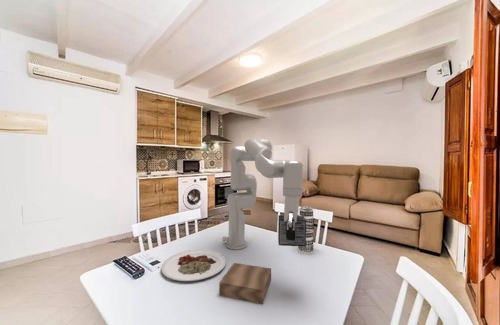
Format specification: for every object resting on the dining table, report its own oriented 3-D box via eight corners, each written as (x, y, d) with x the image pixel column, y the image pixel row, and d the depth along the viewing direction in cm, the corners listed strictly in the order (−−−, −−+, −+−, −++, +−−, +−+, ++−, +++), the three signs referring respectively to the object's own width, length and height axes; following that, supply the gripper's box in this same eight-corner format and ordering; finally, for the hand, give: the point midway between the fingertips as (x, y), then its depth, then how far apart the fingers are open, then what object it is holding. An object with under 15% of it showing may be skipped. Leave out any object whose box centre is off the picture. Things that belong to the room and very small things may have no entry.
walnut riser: (219, 295, 82) (219, 282, 82) (233, 273, 97) (234, 262, 97) (262, 303, 77) (263, 290, 77) (271, 279, 93) (271, 268, 93)
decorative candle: (306, 255, 116) (307, 209, 116) (294, 249, 124) (294, 206, 124) (317, 251, 121) (318, 207, 121) (305, 246, 129) (305, 204, 129)
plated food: (212, 289, 86) (212, 280, 86) (146, 279, 92) (146, 272, 92) (233, 255, 116) (233, 249, 116) (182, 250, 122) (182, 244, 122)
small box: (303, 240, 89) (304, 215, 89) (306, 247, 82) (306, 219, 82) (277, 239, 90) (278, 214, 90) (278, 245, 83) (278, 218, 83)
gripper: (285, 188, 95) (284, 228, 95) (280, 195, 78) (279, 243, 79) (302, 189, 93) (302, 230, 93) (301, 196, 76) (300, 246, 77)
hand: (291, 236), depth 86 cm, fingers closed on small box, 7 cm apart
